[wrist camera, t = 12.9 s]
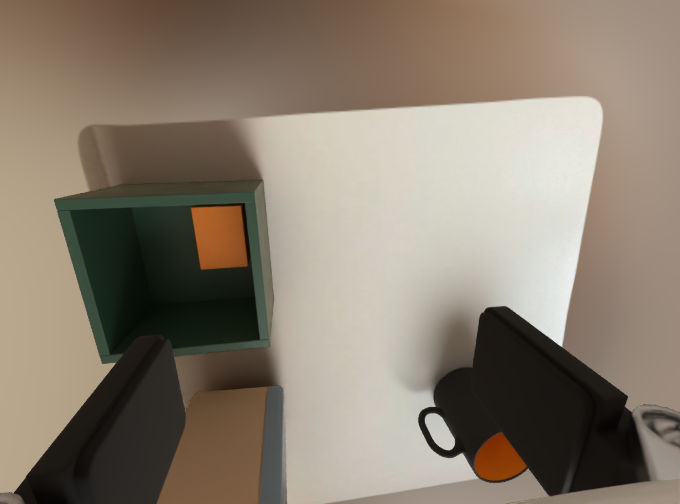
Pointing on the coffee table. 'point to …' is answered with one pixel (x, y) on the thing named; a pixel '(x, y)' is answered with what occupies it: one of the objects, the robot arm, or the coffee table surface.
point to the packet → (221, 235)
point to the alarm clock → (230, 450)
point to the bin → (167, 268)
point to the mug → (472, 430)
